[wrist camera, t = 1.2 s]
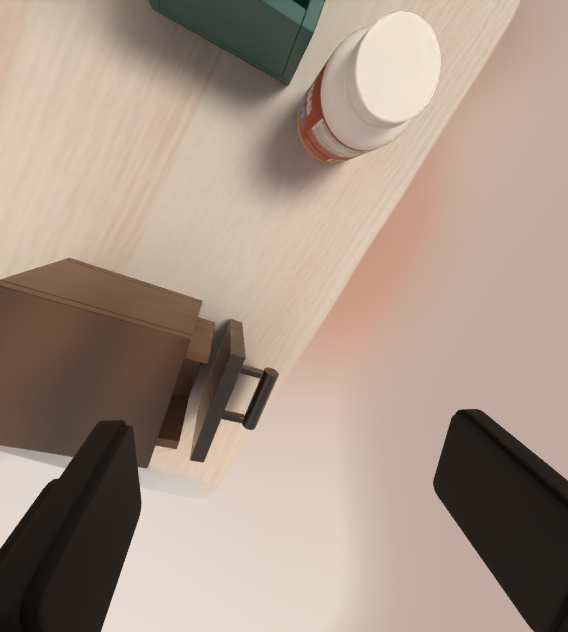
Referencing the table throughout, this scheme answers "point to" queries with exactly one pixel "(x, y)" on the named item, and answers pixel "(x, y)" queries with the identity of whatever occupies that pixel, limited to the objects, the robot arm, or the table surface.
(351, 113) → the pill bottle
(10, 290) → the cabinet
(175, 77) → the table surface
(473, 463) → the robot arm
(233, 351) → the rack drawer
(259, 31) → the chest
